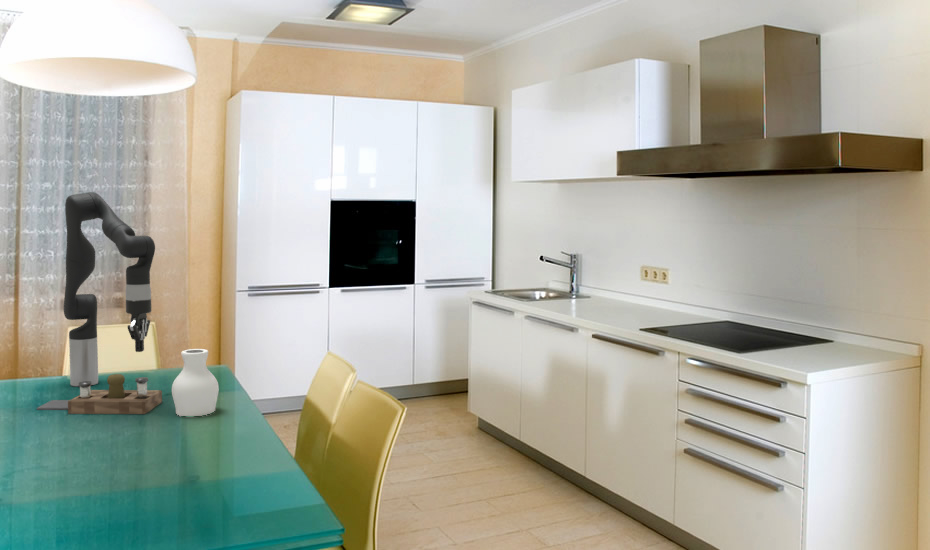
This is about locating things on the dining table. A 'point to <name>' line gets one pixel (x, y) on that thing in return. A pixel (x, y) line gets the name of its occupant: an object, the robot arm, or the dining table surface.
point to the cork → (116, 386)
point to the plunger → (85, 389)
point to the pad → (55, 405)
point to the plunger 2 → (141, 387)
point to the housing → (115, 403)
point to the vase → (195, 385)
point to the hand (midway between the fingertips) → (139, 351)
